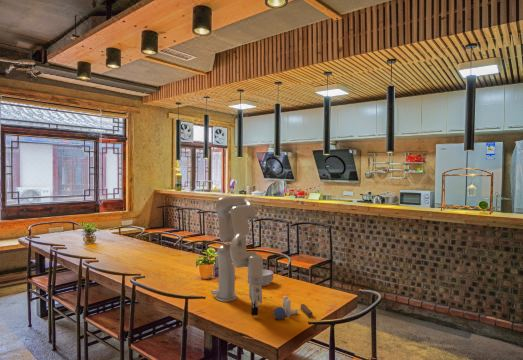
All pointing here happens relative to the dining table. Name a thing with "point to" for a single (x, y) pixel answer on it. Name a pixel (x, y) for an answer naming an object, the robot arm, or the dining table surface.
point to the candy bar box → (216, 267)
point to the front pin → (292, 312)
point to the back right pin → (288, 308)
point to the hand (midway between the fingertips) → (254, 314)
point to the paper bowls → (267, 277)
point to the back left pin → (284, 302)
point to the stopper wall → (306, 310)
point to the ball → (279, 313)
